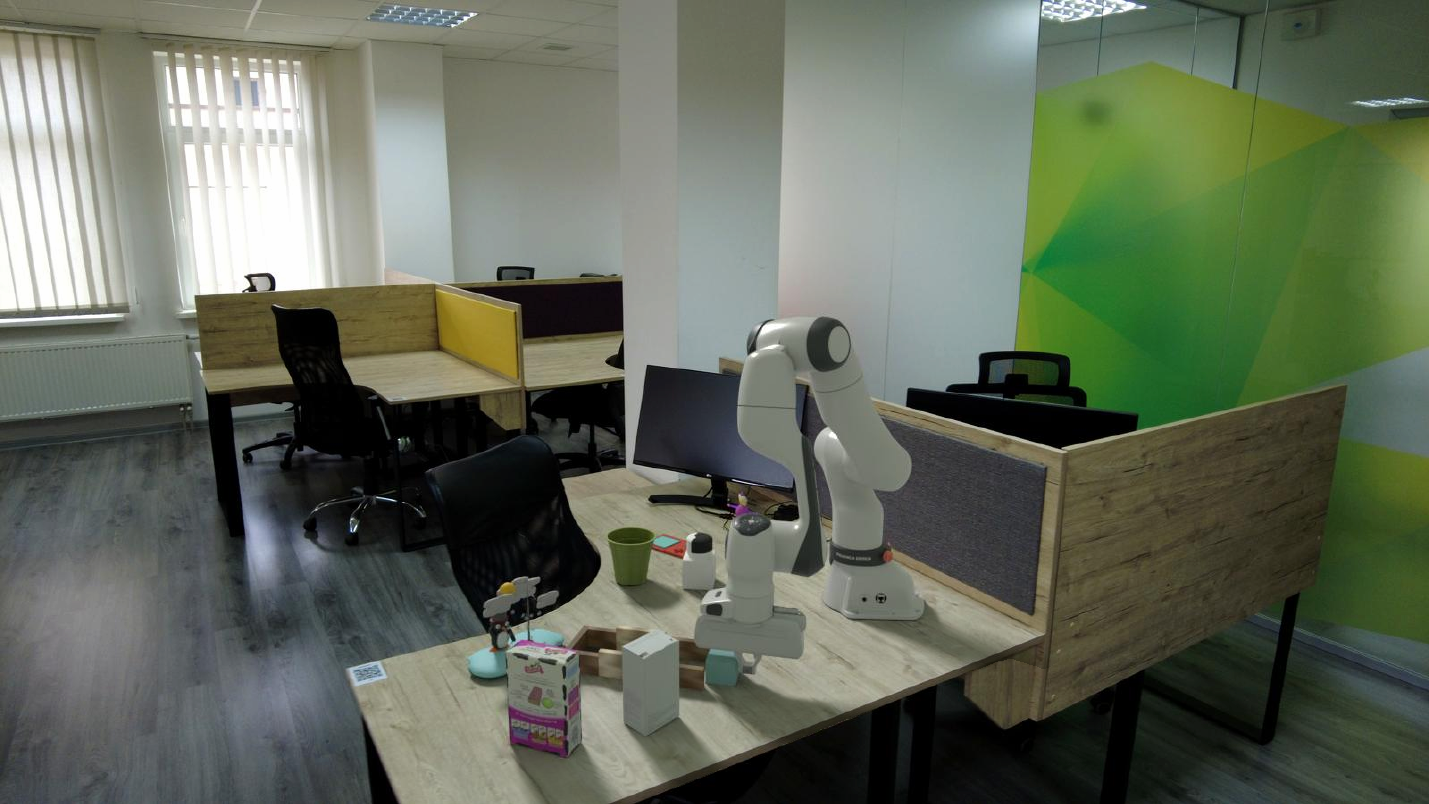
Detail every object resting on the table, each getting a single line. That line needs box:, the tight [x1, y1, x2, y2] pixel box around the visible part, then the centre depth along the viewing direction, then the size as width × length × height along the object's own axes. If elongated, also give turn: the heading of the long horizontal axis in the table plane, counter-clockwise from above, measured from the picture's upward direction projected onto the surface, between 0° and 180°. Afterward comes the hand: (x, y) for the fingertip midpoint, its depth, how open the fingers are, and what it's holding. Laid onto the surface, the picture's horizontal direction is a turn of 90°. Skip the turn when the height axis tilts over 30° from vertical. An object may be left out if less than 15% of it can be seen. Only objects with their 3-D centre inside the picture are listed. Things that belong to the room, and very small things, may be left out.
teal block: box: [705, 649, 740, 687], centre depth 158 cm, size 6×6×4 cm
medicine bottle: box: [681, 532, 717, 591], centre depth 198 cm, size 7×7×12 cm
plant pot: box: [605, 526, 657, 586], centre depth 200 cm, size 12×12×11 cm
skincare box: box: [622, 628, 680, 737], centre depth 143 cm, size 8×6×15 cm
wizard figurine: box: [726, 490, 758, 517], centre depth 231 cm, size 11×3×12 cm, turn 45°
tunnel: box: [565, 624, 710, 691], centre depth 162 cm, size 27×11×5 cm, turn 77°
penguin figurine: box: [466, 576, 565, 679], centre depth 164 cm, size 20×11×15 cm, turn 135°
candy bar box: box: [505, 640, 583, 758], centre depth 137 cm, size 11×5×16 cm, turn 69°
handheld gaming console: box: [651, 533, 687, 560], centre depth 221 cm, size 9×1×15 cm
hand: (748, 672), depth 157 cm, fingers closed
